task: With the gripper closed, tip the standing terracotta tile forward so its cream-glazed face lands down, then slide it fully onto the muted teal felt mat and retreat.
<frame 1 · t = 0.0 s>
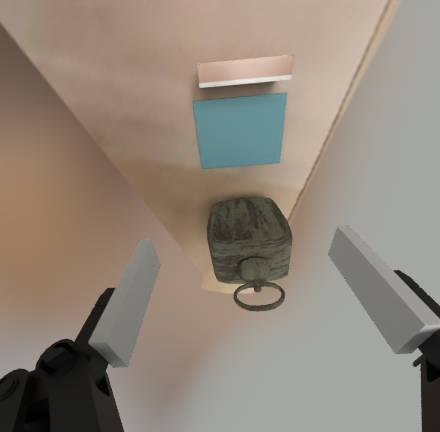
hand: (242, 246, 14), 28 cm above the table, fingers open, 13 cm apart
felt mat: (239, 134, 36), on the table
tabletop clock: (240, 206, 45), on the table
tile: (238, 75, 31), on the table
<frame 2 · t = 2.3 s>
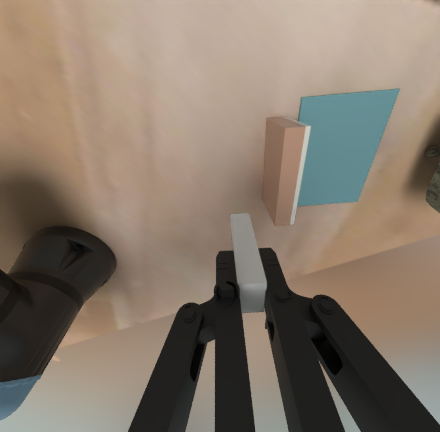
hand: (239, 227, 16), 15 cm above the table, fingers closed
felt mat: (333, 156, 28), on the table
tile: (272, 161, 28), on the table
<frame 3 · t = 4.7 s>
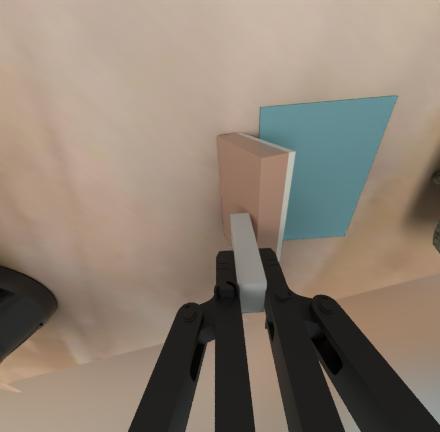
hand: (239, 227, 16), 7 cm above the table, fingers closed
felt mat: (310, 183, 21), on the table
tile: (231, 190, 21), on the table, tilted 19°
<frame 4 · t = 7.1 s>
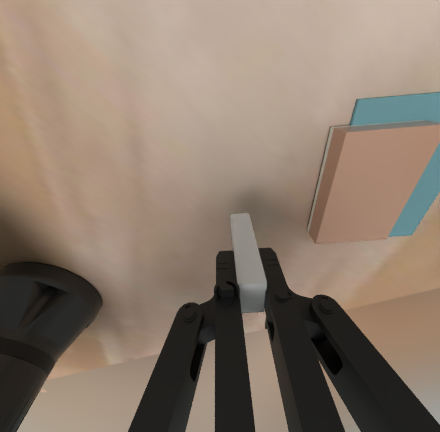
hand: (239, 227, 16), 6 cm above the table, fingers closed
felt mat: (388, 180, 21), on the table
tile: (322, 192, 20), point 2 cm above the table, tilted 90°, touching felt mat
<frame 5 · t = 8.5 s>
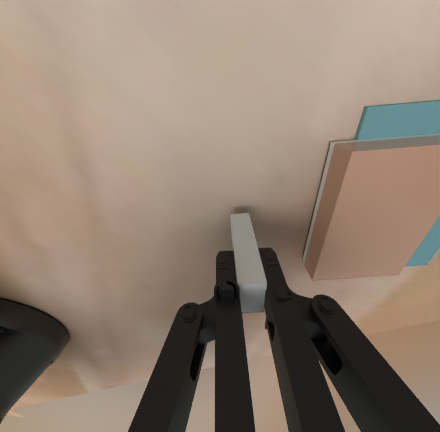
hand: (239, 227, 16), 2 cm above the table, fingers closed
felt mat: (401, 204, 17), on the table
tile: (320, 221, 16), point 2 cm above the table, tilted 90°, touching felt mat
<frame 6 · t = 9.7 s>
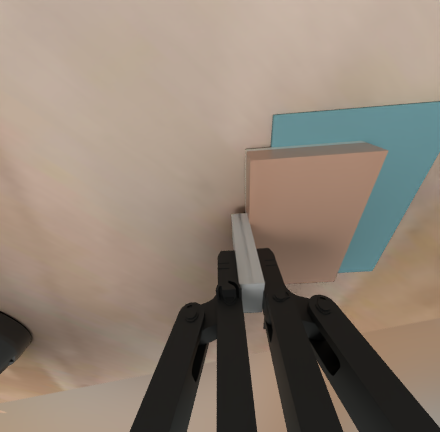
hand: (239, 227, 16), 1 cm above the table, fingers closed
felt mat: (334, 211, 17), on the table
tile: (247, 227, 16), point 2 cm above the table, tilted 90°, touching felt mat, gripper
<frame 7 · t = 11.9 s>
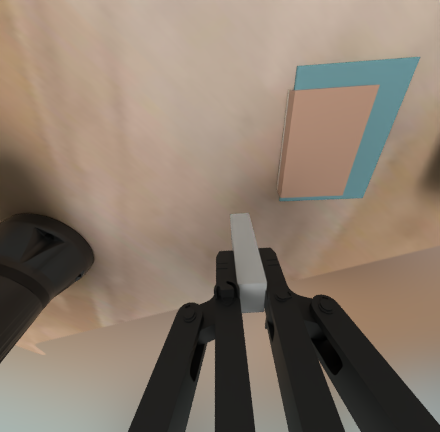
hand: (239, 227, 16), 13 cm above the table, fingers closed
felt mat: (334, 143, 24), on the table
tile: (284, 149, 23), point 2 cm above the table, tilted 90°, touching felt mat
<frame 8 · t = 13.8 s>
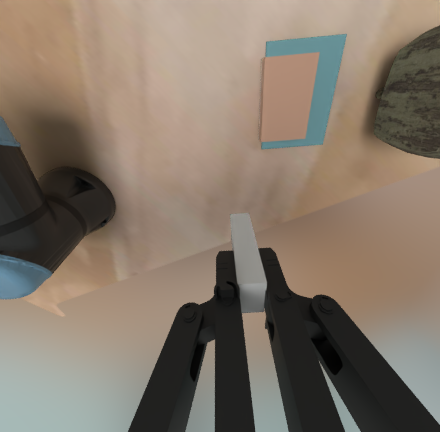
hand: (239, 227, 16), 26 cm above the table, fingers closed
felt mat: (297, 99, 33), on the table
tabletop clock: (389, 91, 33), on the table
tile: (261, 103, 32), point 2 cm above the table, tilted 90°, touching felt mat
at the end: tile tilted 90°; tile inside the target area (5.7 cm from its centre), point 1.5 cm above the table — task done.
